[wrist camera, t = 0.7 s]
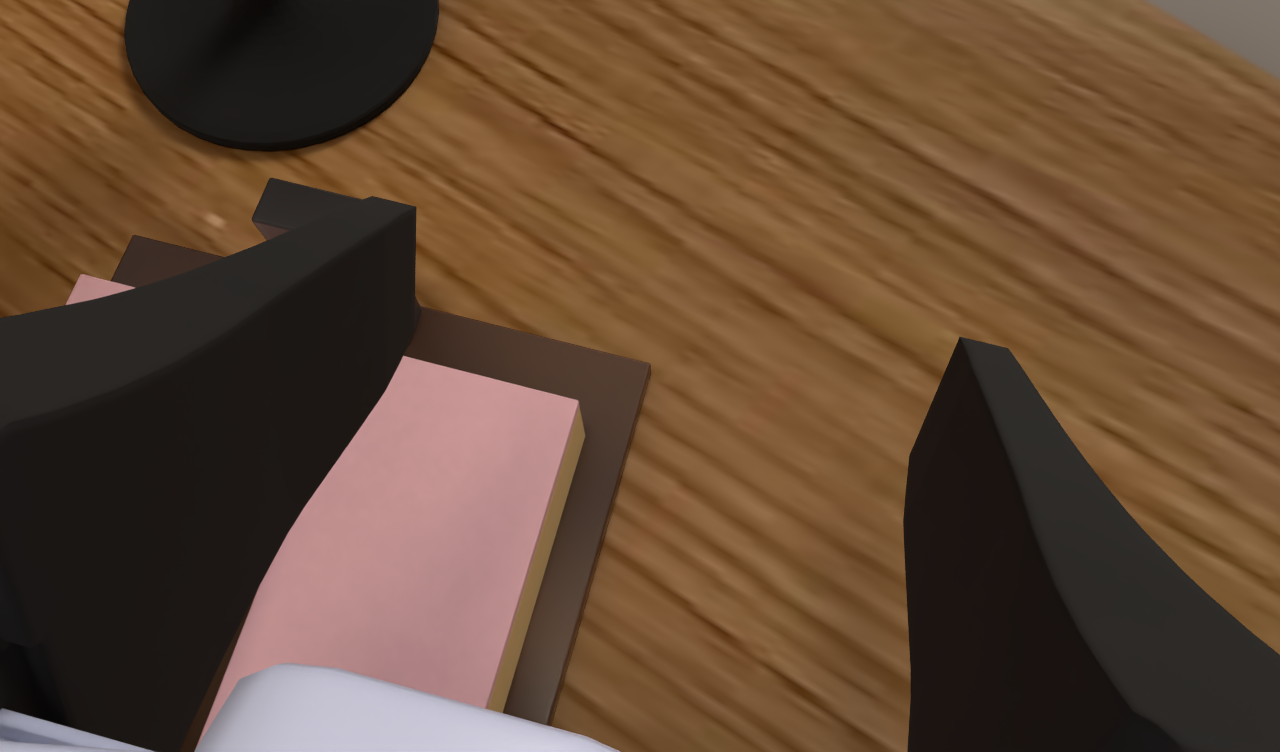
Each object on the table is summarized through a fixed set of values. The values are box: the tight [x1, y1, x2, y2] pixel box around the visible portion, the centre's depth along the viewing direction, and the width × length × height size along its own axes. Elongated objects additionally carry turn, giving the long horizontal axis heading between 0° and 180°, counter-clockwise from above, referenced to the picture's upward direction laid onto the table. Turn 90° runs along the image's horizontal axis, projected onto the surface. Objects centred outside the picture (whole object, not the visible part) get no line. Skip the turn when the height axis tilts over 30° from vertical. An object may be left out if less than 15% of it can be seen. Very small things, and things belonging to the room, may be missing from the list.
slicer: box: [111, 178, 651, 752], centre depth 24 cm, size 18×16×7 cm
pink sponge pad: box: [66, 274, 585, 748], centre depth 26 cm, size 13×14×3 cm
